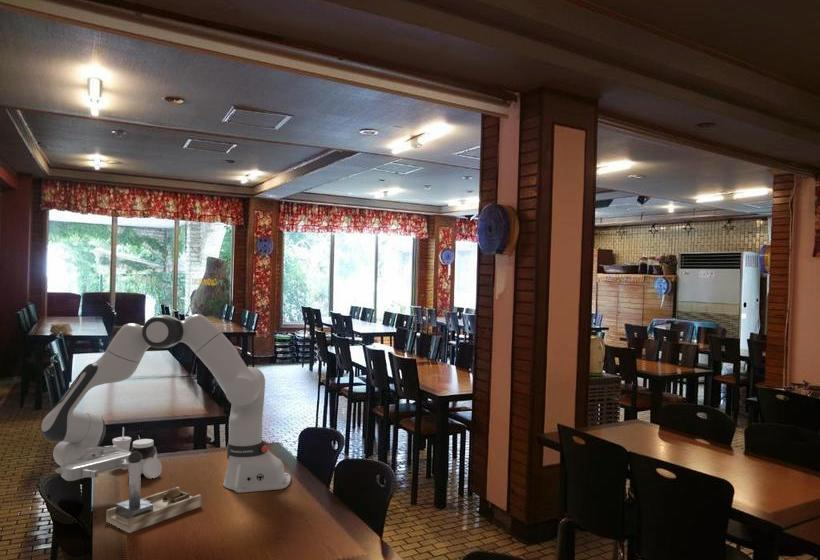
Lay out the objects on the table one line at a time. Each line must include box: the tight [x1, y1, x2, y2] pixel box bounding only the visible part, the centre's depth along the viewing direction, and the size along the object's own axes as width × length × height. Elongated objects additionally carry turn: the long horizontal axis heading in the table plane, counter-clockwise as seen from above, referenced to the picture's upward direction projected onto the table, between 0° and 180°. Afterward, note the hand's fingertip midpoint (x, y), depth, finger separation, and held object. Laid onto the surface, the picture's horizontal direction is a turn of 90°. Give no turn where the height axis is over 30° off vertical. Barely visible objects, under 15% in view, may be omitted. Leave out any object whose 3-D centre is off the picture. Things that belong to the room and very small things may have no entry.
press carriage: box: [115, 451, 153, 519], centre depth 168 cm, size 7×9×18 cm
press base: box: [105, 486, 202, 534], centre depth 173 cm, size 23×12×4 cm, turn 146°
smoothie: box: [112, 426, 132, 452], centre depth 216 cm, size 6×6×14 cm
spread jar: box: [127, 438, 163, 480], centre depth 206 cm, size 12×11×12 cm
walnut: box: [167, 487, 181, 501], centre depth 178 cm, size 4×4×4 cm
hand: (111, 470), depth 174 cm, fingers open, 8 cm apart
